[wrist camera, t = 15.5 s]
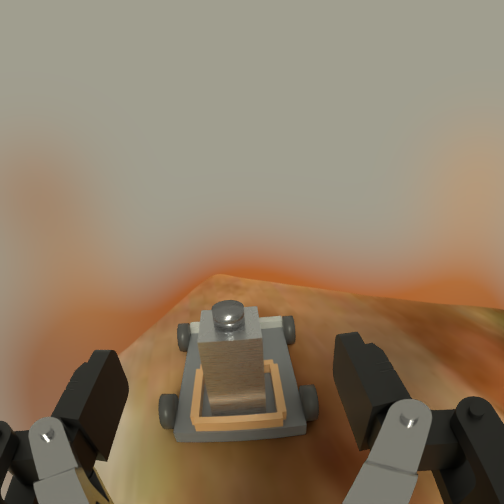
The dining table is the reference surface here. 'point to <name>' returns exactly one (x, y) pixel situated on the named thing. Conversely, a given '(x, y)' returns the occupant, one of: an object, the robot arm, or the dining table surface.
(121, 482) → the dining table surface
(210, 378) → the block
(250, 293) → the dining table surface
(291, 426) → the chassis
